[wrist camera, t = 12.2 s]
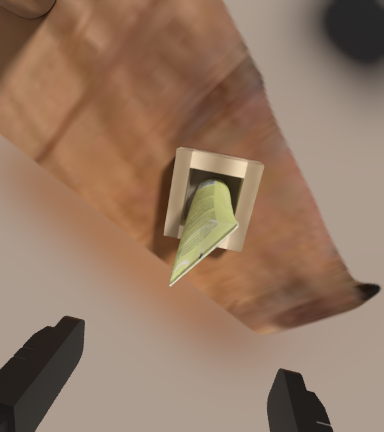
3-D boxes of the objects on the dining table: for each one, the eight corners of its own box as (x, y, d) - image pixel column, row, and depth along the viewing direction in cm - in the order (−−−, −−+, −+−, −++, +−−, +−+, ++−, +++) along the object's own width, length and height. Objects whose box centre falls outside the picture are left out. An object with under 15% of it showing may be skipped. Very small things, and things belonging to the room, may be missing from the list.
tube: (228, 215, 39) (232, 294, 20) (194, 213, 39) (168, 287, 21) (231, 177, 37) (239, 226, 18) (196, 175, 37) (168, 220, 19)
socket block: (170, 223, 41) (163, 235, 36) (183, 146, 37) (177, 148, 33) (239, 238, 40) (241, 252, 36) (259, 161, 37) (264, 165, 32)
